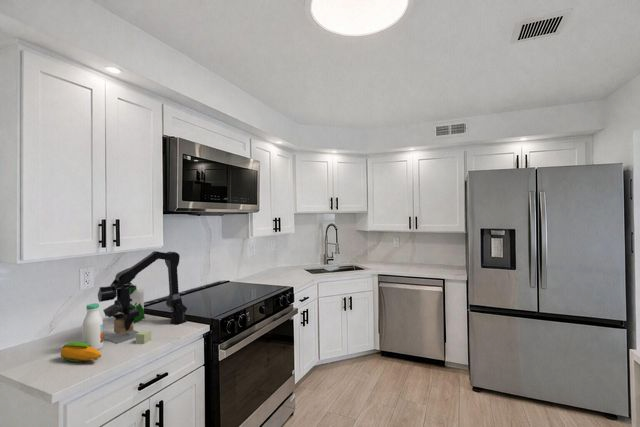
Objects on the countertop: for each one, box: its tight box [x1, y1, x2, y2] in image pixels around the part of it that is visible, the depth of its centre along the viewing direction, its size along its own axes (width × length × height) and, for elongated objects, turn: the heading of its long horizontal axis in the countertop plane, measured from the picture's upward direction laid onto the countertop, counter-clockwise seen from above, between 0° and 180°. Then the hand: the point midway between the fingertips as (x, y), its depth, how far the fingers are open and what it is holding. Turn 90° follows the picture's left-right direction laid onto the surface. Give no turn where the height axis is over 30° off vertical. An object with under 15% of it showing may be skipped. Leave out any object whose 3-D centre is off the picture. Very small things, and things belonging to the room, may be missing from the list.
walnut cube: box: [113, 318, 134, 334], centre depth 159 cm, size 6×6×6 cm
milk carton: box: [130, 284, 146, 323], centre depth 184 cm, size 9×9×20 cm
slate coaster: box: [103, 329, 140, 345], centre depth 159 cm, size 13×13×1 cm
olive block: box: [135, 330, 152, 345], centre depth 152 cm, size 4×4×4 cm
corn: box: [59, 340, 102, 363], centre depth 133 cm, size 7×8×20 cm
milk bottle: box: [81, 303, 104, 351], centre depth 144 cm, size 8×8×20 cm
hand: (123, 329), depth 159 cm, fingers closed on walnut cube, 6 cm apart
